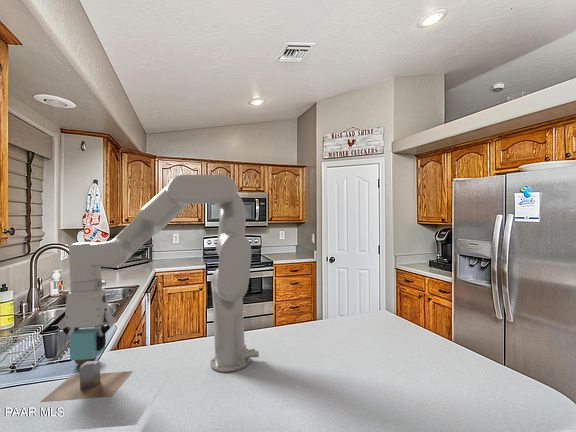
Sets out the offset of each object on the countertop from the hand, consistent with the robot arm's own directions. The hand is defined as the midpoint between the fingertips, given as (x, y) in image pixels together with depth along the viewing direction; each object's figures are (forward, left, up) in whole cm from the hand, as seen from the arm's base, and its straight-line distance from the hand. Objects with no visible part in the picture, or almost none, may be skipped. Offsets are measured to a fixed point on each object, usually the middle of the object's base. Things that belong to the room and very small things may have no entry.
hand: (88, 349), depth 92 cm
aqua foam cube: (0, 0, -2) cm, 2 cm away
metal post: (0, 0, -10) cm, 10 cm away
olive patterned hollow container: (+9, -15, -12) cm, 21 cm away
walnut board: (0, 0, -12) cm, 12 cm away
